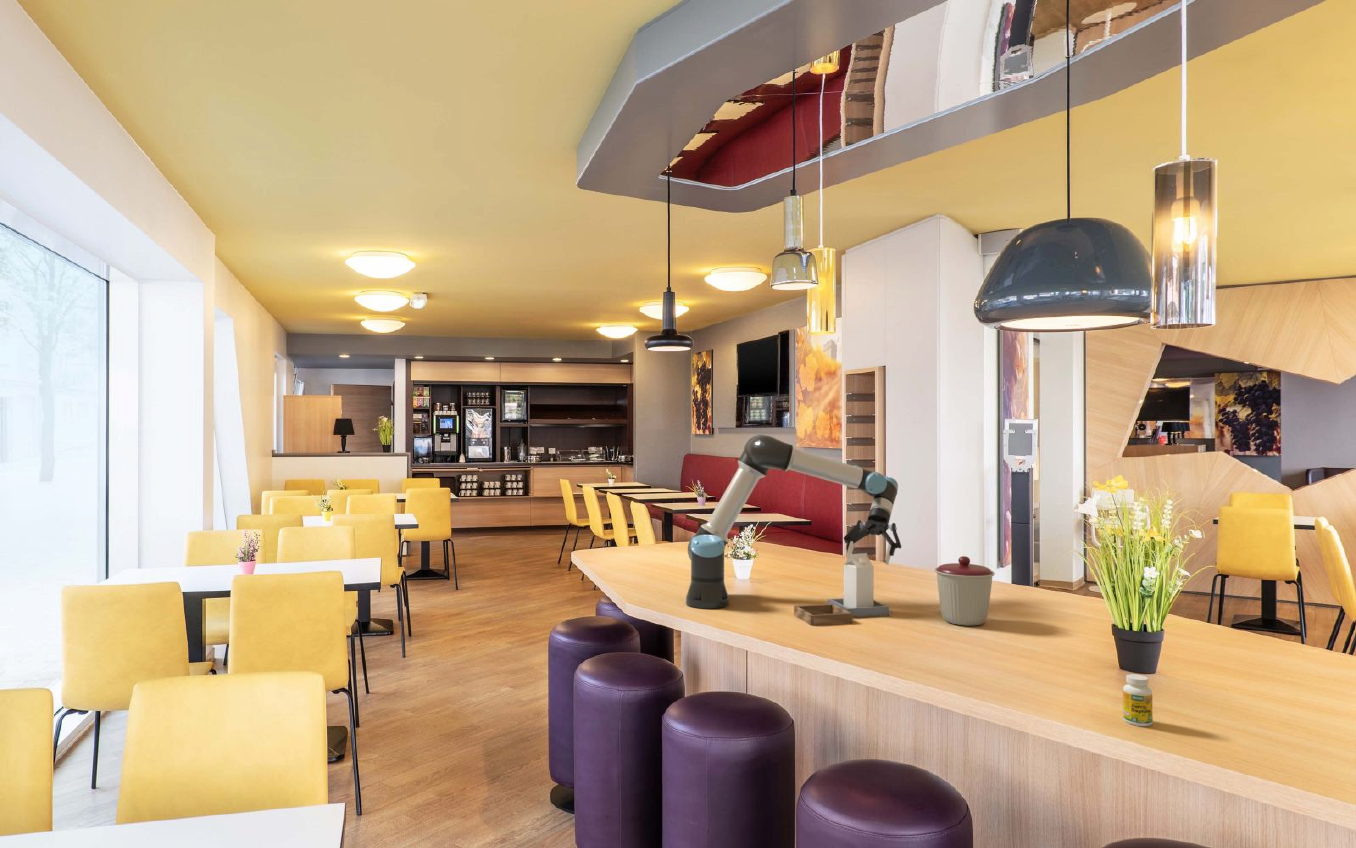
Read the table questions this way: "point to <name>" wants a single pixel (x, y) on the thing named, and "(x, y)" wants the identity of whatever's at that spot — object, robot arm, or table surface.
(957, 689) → the table surface
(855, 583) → the milk carton
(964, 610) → the canister
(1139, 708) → the supplement bottle
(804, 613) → the holder frame
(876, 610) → the tray
